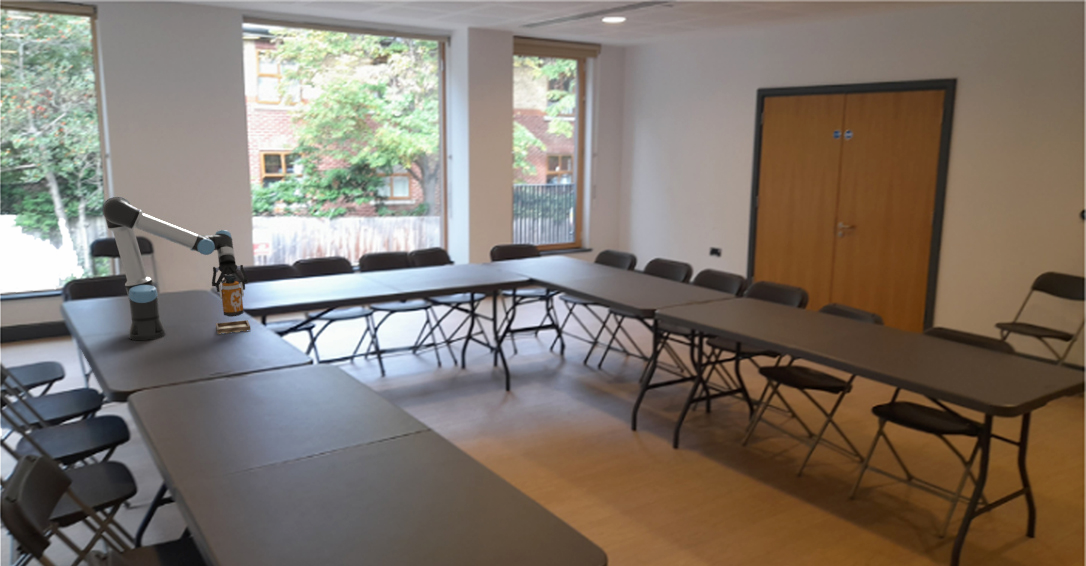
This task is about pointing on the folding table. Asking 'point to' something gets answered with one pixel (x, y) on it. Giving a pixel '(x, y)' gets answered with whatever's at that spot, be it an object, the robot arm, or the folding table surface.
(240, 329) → the wooden tray
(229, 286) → the canister
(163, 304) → the folding table surface
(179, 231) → the robot arm
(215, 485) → the folding table surface
